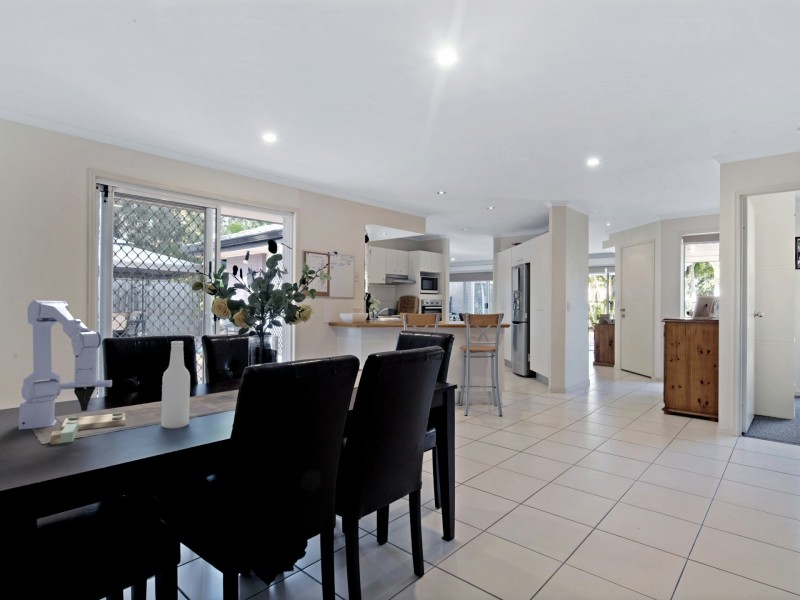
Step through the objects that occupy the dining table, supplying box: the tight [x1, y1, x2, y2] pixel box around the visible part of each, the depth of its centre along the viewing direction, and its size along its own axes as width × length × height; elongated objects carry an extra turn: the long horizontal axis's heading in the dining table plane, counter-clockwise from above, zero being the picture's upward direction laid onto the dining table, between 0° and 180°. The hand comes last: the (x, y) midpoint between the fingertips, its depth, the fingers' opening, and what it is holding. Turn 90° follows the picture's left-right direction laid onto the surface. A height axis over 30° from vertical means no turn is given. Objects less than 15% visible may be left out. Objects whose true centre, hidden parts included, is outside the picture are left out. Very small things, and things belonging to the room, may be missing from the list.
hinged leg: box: [60, 421, 79, 444], centre depth 139 cm, size 15×3×3 cm, turn 31°
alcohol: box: [160, 340, 191, 430], centre depth 155 cm, size 9×9×30 cm
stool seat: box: [49, 411, 127, 446], centre depth 147 cm, size 19×27×3 cm
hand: (84, 410), depth 141 cm, fingers closed
